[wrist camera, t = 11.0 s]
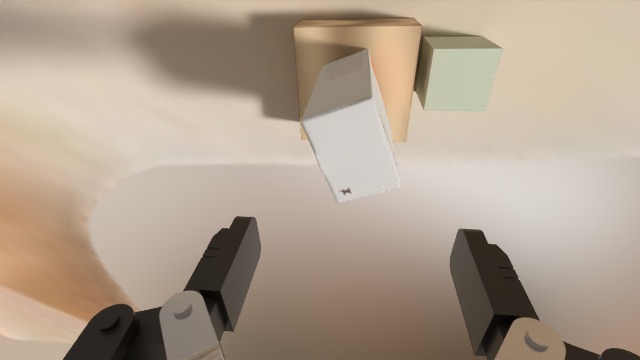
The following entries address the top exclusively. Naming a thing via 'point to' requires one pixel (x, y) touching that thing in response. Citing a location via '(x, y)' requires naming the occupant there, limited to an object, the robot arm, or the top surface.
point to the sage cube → (457, 73)
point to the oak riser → (352, 37)
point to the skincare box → (351, 129)
